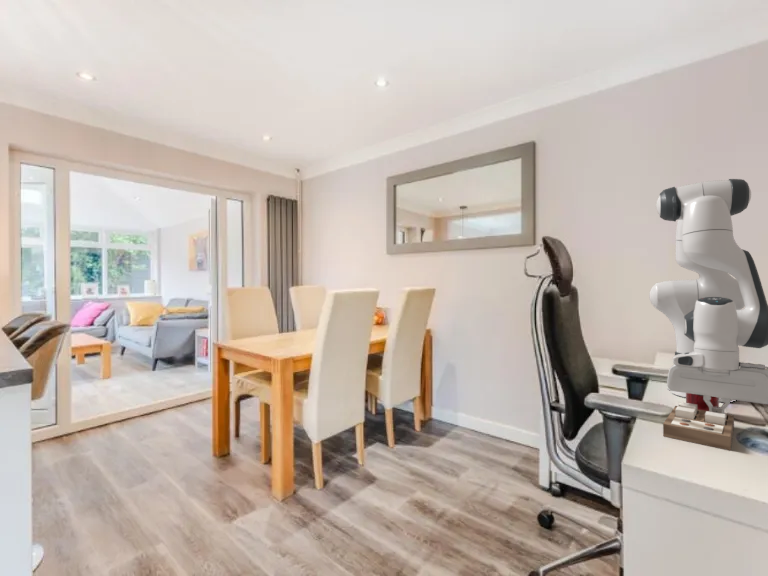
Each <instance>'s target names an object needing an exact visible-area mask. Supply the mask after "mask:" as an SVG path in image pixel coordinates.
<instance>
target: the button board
mask: <svg viewBox="0 0 768 576" xmlns="http://www.w3.org/2000/svg"><path fill="white" fill-rule="evenodd" d="M677 406H678V407H679V405H675V406H674V407H673V409H672V410H671V411H670V413H669V414H668V415H667V418H666V419H665V420H664V422H663V423H662V431H663V432H662V434H663V437H665V438H670V439H675V440H680V441H684V442H689V443H692V444H693V443H694V444H698V445H703V446H708V447H712V448H718V449H721V450H727V451H732V450H731V449H732V444H733V443H732V442H733V436H734V431H733V430H734V428H735V417H734V416H735V415H733V414H728V413H726V414H727V420H726V419H725V421H726V425H721V424H715V423H710V422H705V413H706V411H704V410H698V409H697V413H698V414H697V415H696V414H695V420H693V419H688V418H682V417H677V416H676V413H675V409H676V408H677Z"/></svg>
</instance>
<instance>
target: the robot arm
mask: <svg viewBox="0 0 768 576" xmlns="http://www.w3.org/2000/svg"><path fill="white" fill-rule="evenodd" d="M657 197H658V198H657V199H656V202H655V203H656V204H655V207H656V208H655V209H656V212H657V214H658V215H659V218H661V219H662V220H664V221H669V222H676V221H677V222H676V229H675V262H676V264H677V265H679V266H680V267H682V268H684V269H686V270H688V271H692V272H695V273H697V274H698V276H699V278H697V279H674V280H673V279H669V280H664V281H660V282H656V283H654V284H653V285H652V287H651V288H650V290H649V302H650V304H651V305H652V306H653V307H654V308H655V309H656V310H657V311H659V312H661V313H662V314H663V315H664V316H665V317H666V318H667V319H668V320H669V322H670V323H671V325H672V327H673V329H674V336H675V346H676V348H675V349H676V350H675V352H674V356H673V357H672V364H673V365H671V367H670V368H669V370H668V374H667V381H666V383H667V384H666V387H667V388H666V389H667V390H668V391H670V393H671V394H673V395H676V396H679V397H683V398H686V393H691V394H698V395H703V400H704V401H705V402H706V404H707V405H708V407H709V412H715V413H721V414H726V413H725V411H726V410H725V409H727V408H728V406H729V405H730V404H731V403H730V401H732V400H737V401H741V402H748V403H755V404H762V405H768V366H766V365H765V364H761V363H749V362H740V348H739V346H742V347H744V348H753V349H754V348H755V349H762V348H765V347H766V346H768V301H767V298H766V295H765V291H764V288H763V285H762V281H761V278H760V275H759V272H758V269H757V266H756V263H755V261H754V258H753V257H752V255H751V253H750V251H748V250H746V249H742V248H741V247H740V245H738V243H737V242H736V240H735V238H734V229H733V222H732V216H735V215H738V214H741V213H742V212H744V211H745V210H746V209H747V208H748V206H749V204H750V201H751V198H752V191H751V188H750V186H749V183H748V182H747V181H746V180H745V179H741V178H728V179H727V180H726V179H724V180H722V179H721V180H720V179H719V180H708V181H701V182H698V183H697V182H696V183H691V184H685V185H680V186H676V187H675V186H673V187H669V188H666V189H663V190H662V191H661V192H660V193H659V196H657ZM711 396H712V397H719V403H723V404H722V406H719V407H716V406H713V405H712V404H711V402H710V401H709V400H711Z"/></svg>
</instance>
